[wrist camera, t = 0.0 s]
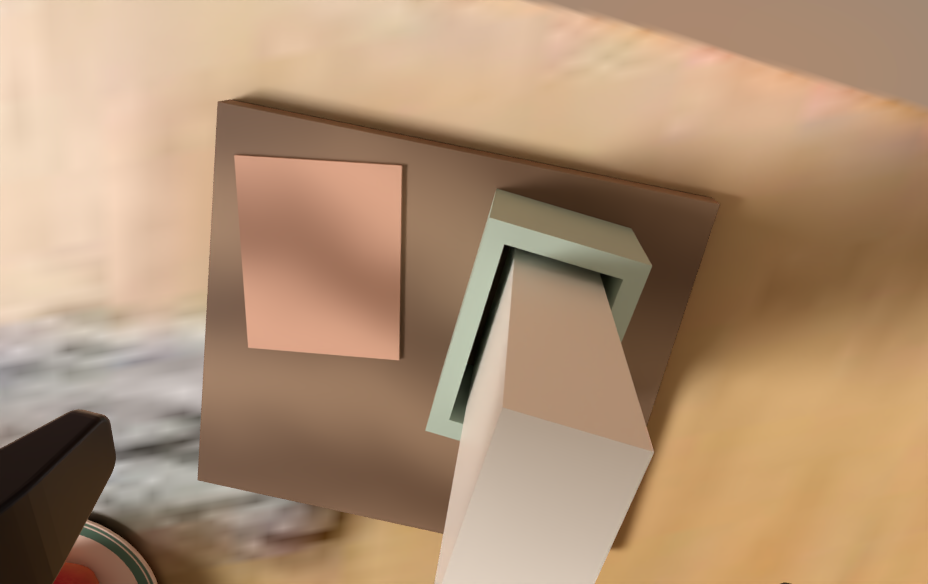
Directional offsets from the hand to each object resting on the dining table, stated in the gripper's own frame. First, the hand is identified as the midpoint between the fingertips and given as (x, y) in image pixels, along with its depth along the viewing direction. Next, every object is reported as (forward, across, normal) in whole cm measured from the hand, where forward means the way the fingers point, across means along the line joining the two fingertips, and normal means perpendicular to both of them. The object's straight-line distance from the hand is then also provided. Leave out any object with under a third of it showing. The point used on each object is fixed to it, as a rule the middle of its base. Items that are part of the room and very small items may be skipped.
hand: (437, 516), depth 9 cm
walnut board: (+14, +1, +9) cm, 16 cm away
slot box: (+14, -2, +6) cm, 15 cm away
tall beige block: (+14, -2, +6) cm, 15 cm away
